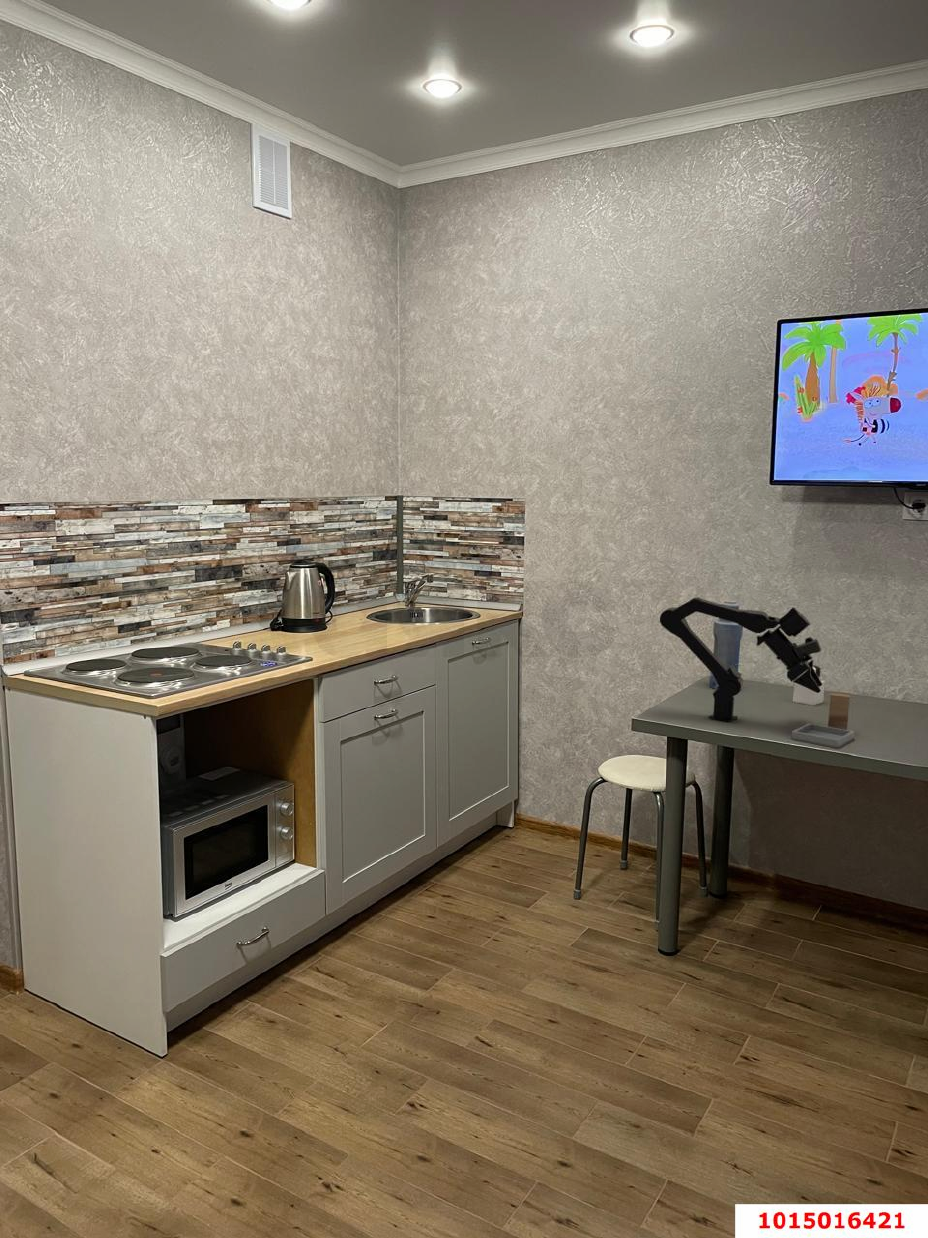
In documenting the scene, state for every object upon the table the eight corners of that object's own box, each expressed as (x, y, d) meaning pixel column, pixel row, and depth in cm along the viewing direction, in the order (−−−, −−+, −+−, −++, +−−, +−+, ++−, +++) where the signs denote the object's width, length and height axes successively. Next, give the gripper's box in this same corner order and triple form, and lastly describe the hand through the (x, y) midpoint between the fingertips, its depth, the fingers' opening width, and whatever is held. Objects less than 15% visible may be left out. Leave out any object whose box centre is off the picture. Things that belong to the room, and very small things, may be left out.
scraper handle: (846, 735, 260) (849, 697, 259) (827, 732, 262) (830, 695, 261) (846, 730, 265) (850, 693, 263) (828, 728, 267) (831, 691, 265)
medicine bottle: (802, 698, 304) (805, 662, 302) (823, 702, 299) (826, 666, 297) (792, 701, 299) (794, 665, 297) (813, 706, 294) (816, 669, 292)
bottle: (707, 683, 323) (712, 598, 318) (735, 685, 322) (741, 599, 318) (711, 690, 314) (717, 602, 309) (741, 691, 313) (747, 603, 308)
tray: (837, 748, 247) (838, 740, 246) (791, 739, 255) (791, 731, 254) (854, 739, 256) (854, 731, 256) (808, 730, 264) (809, 723, 264)
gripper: (802, 634, 255) (842, 677, 252) (806, 624, 272) (844, 665, 269) (770, 659, 259) (809, 702, 257) (776, 649, 276) (813, 689, 274)
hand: (820, 688), depth 264 cm, fingers open, 9 cm apart
